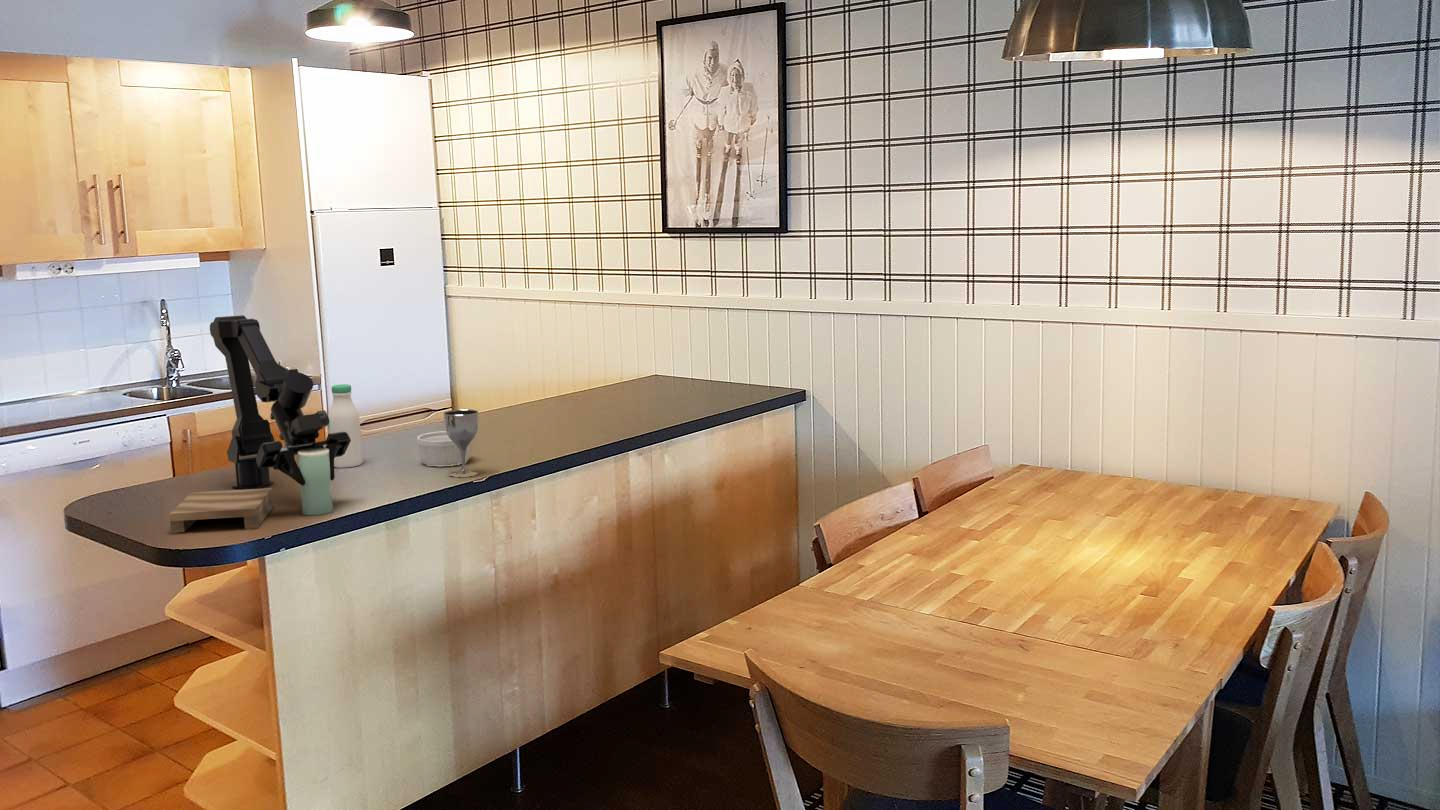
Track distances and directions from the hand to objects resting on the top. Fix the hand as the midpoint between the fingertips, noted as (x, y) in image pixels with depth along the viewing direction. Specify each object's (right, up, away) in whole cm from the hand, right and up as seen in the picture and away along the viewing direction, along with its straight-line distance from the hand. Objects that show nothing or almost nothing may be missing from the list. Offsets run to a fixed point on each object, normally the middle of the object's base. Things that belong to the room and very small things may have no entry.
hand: (318, 481), depth 241 cm
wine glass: (+22, -1, +36) cm, 42 cm away
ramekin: (+15, +1, +49) cm, 51 cm away
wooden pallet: (-18, -7, -3) cm, 20 cm away
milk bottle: (-9, +1, +48) cm, 49 cm away
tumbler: (-1, -6, +2) cm, 7 cm away
